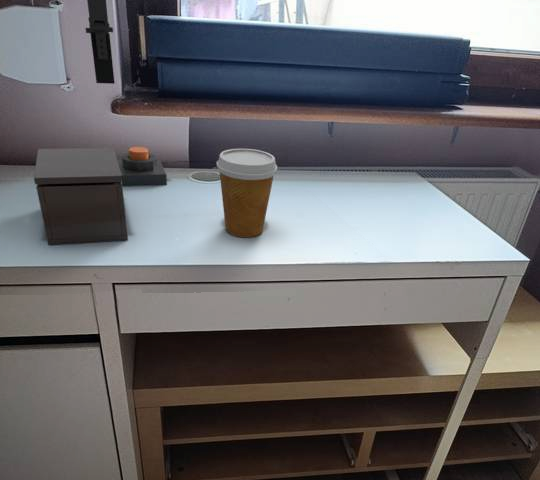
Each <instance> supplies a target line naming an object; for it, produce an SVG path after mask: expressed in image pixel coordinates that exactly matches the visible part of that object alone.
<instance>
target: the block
mask: <svg viewBox="0 0 540 480" xmlns="http://www.w3.org/2000/svg"><path fill="white" fill-rule="evenodd" d="M148 158H149V159H147V160H132V159H130V156H129V152H126V153H124V154H123V155H121V158H117V161H118V165H119V169H120V172H121V176H122V187H147V186H148V187H149V186H167V185H168V180H167V179H168V178H167V177H168V176H167V172H166V171H165V168H164V166H163V164H162V162H161V160H160V158H158V157H156V155H155V154H152V153H151V152H148Z"/></svg>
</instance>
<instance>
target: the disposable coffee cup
mask: <svg viewBox="0 0 540 480" xmlns="http://www.w3.org/2000/svg"><path fill="white" fill-rule="evenodd" d="M218 156H219V157H218V160H216V167H217V169H218V172H219V179H220V188H221V189H220V190H221V197H222V208H223V217H224V218H223V219H224V227H225V232H226V233H228V234H229V235H232V236H234V237H239V238H254V237H257V236H260V235H262V233H263V232H264V225H265V221H266V215H267V210H268V207H269V200H270V196H271V192H272V186H273V185H272V184H273V182H274V176H275V175H276V172H277V170H278V165H277V164H276V158H275V156H274V155H272V154H271V153H269V152H266V151H263V150H259V149H253V148H229V149H226V150H223V151H221V152H220V154H219V155H218Z"/></svg>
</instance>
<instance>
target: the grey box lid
mask: <svg viewBox="0 0 540 480" xmlns="http://www.w3.org/2000/svg"><path fill="white" fill-rule="evenodd" d="M36 155H37V156H36V162H35V167H34V174H33V181H34V185H37V184H71V183H106V182H122V176H121V172H120V169H119V165H118V161H117V159H118V158H117V154H116V151H115V148H114V147H86V148H85V147H77V148H76V147H75V148H72V147H71V148H68V147H67V148H38V149H37V154H36Z"/></svg>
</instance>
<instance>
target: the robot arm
mask: <svg viewBox="0 0 540 480" xmlns="http://www.w3.org/2000/svg"><path fill="white" fill-rule="evenodd" d="M86 1H87V9H88V17H87V18H88V23H89V24H88V25H89V27H85V33H86V34H90V40H91V50H92V57H93V66H94V74H95V82H96V84H109V85H110V84H111V85H112V84H113V85H115V83H116V82H115V74H114V73H115V72H114V64H113V55H112V44H111V43H112V42H111V35H110V33H114V28H113V26H110V23H109V18H108V16H109V15H108V7H107V0H86Z"/></svg>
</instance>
